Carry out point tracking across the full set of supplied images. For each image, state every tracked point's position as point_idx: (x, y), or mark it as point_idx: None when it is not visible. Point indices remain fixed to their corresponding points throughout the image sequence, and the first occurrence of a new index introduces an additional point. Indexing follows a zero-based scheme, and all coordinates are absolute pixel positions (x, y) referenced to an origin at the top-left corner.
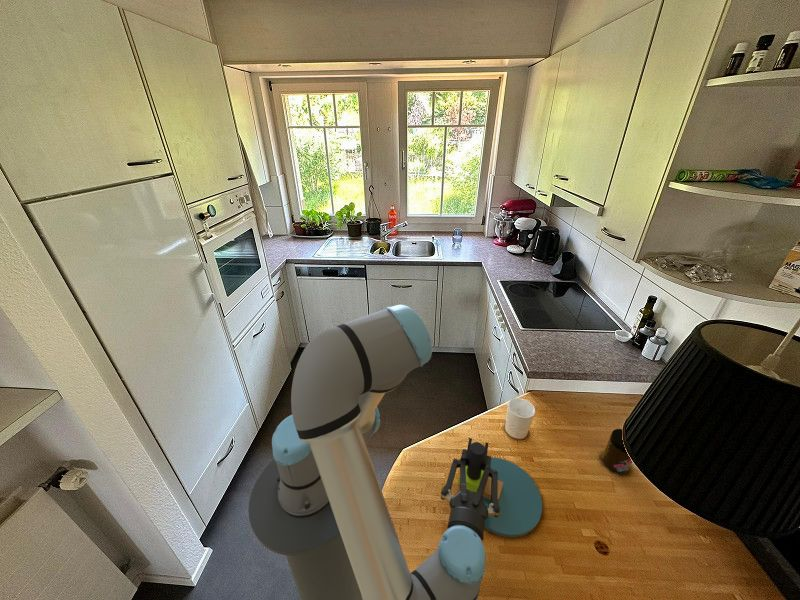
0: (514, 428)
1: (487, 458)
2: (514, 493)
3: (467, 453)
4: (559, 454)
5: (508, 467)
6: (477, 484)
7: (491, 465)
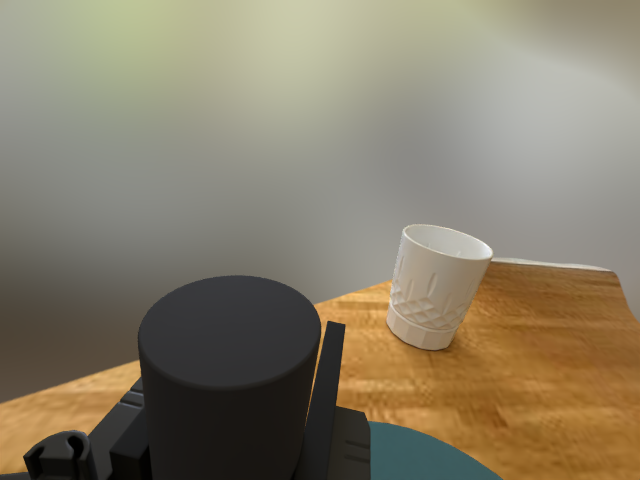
0: (425, 310)
1: (338, 433)
2: None
3: None
4: (571, 394)
5: (429, 466)
6: None
7: None
